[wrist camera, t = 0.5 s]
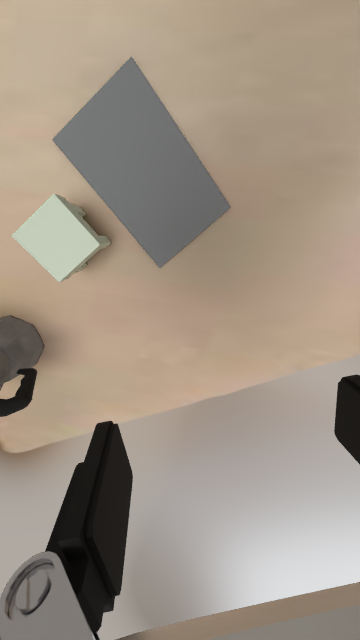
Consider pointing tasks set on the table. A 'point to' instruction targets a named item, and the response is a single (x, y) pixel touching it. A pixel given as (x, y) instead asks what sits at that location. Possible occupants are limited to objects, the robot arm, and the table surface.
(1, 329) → the coffeepot
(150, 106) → the mat
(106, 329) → the table surface
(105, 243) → the pale green stool
